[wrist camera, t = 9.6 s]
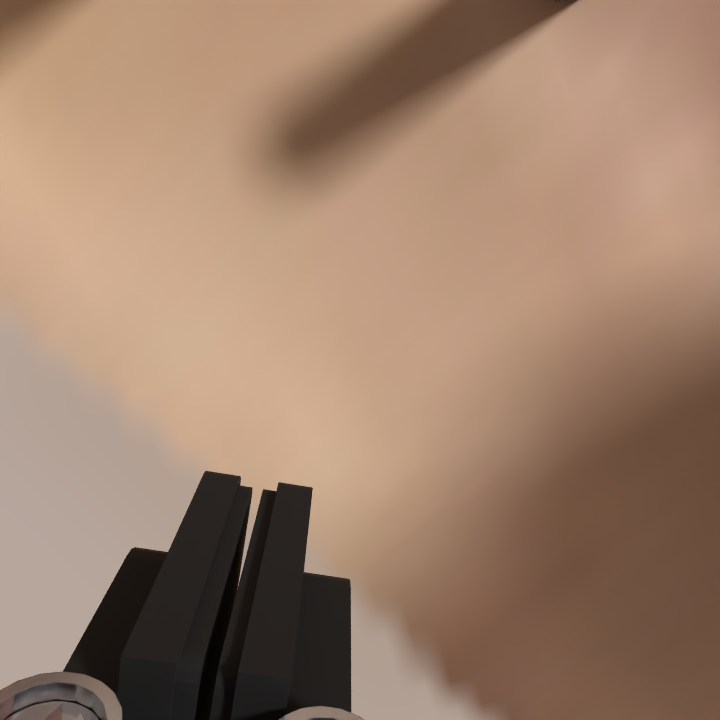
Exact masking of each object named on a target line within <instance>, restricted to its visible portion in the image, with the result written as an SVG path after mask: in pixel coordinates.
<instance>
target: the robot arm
mask: <svg viewBox="0 0 720 720" xmlns="http://www.w3.org/2000/svg"><path fill="white" fill-rule="evenodd" d="M240 482H241V476H235V475H229V474H222V473H216V472H209V471H205V473H204V474H203V477H202V479H201V481H200V483H199V485H198V488H197V490H196V492H195V494H194V496H193V499H192V501H191V503H190V505H189V507H188V510H187V512H186V514H185V516H184V518H183V521H182V523H181V525H180V527H179V529H178V532H177V534H176V536H175V538H174V540H173V543H172V545H171V547H170V549H169V551H168V552H163V551H156V550H149V549H143V548H136V547H135V548H132V549H131V551H130V552H129V554H128V555H127V557H126V558H125V560H124V562H123V564H122V566H121V567H120V569H119V571H118V573H117V575H116V576H115V578H114V580H113V582H112V584H111V585H110V587H109V589H108V591H107V593H106V595H105V597H104V598H103V600H102V602H101V604H100V606H99V607H98V609H97V611H96V613H95V614H94V616H93V618H92V620H91V622H90V623H89V625H88V627H87V629H86V631H85V632H84V634H83V636H82V638H81V640H80V642H79V643H78V645H77V647H76V649H75V651H74V652H73V654H72V656H71V658H70V660H69V662H68V663H67V665H66V667H65V669H64V670H63V672H54V673H43V674H38V675H35V676H32V677H28V678H25V679H22V680H19V681H16V682H15V683H13V684H11V685H9V686H7V687H5V688H4V689H2V690H0V720H364V719H362V718H361V717H360V716H357V715H355V714H352V713H351V587H350V580H349V579H346V578H339V577H332V576H325V575H319V574H312V573H305V572H304V564H305V554H306V545H307V536H308V526H309V517H310V508H311V499H312V489H313V488H311V487H305V486H299V485H292V484H286V483H280V482H279V483H278V487H277V491H271V490H264V489H263V492H262V496H261V500H260V504H259V508H258V512H257V516H256V520H255V524H254V528H253V531H252V535H251V539H250V543H249V547H248V551H247V555H246V559H245V563H244V567H243V571H242V575H241V578H240V582H239V576H240V569H241V563H242V556H243V549H244V542H245V536H246V530H247V523H248V517H249V510H250V504H251V497H252V487H245V486H240ZM238 583H239V586H238ZM237 589H238V590H237Z"/></svg>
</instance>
